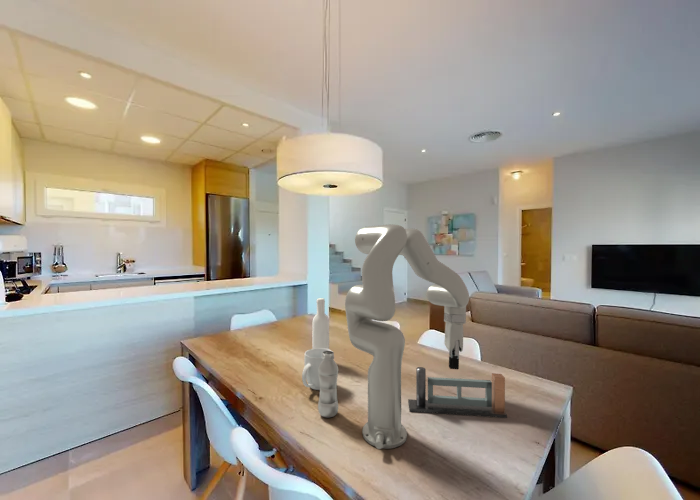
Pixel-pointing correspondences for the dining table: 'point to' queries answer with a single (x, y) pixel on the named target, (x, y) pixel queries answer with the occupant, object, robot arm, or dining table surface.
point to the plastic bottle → (328, 385)
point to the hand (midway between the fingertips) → (453, 368)
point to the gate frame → (426, 407)
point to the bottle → (320, 327)
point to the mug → (312, 367)
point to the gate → (460, 400)
